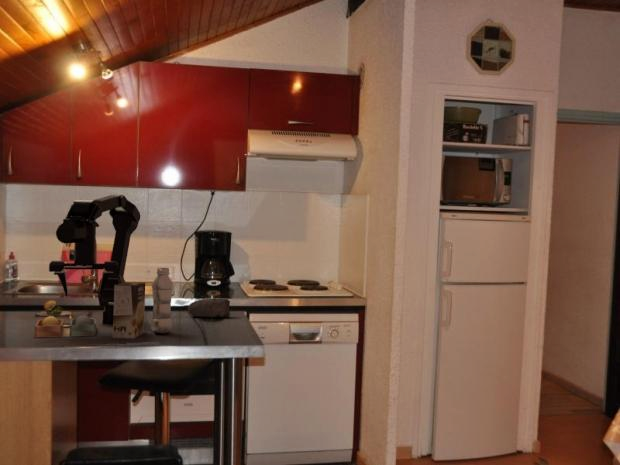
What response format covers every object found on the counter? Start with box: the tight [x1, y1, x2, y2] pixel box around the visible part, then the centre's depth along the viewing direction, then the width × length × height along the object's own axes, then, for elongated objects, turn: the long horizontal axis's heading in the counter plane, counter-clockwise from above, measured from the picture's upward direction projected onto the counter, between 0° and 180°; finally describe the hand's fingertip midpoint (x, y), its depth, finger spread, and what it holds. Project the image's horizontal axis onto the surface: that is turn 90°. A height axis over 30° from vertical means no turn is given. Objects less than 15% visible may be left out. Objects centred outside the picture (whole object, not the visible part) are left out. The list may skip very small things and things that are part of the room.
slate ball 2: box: [75, 318, 91, 325], centre depth 170 cm, size 4×4×4 cm
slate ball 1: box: [75, 315, 91, 324], centre depth 175 cm, size 4×4×4 cm
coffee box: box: [112, 281, 146, 339], centre depth 170 cm, size 9×6×16 cm
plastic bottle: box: [150, 267, 174, 335], centre depth 179 cm, size 6×7×20 cm
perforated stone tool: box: [187, 298, 231, 319], centre depth 212 cm, size 15×5×7 cm, turn 92°
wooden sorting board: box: [34, 317, 97, 338], centre depth 174 cm, size 16×20×4 cm
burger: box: [34, 299, 73, 318], centre depth 202 cm, size 12×12×8 cm
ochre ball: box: [42, 316, 58, 326], centre depth 172 cm, size 4×4×4 cm
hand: (83, 295), depth 171 cm, fingers open, 9 cm apart
